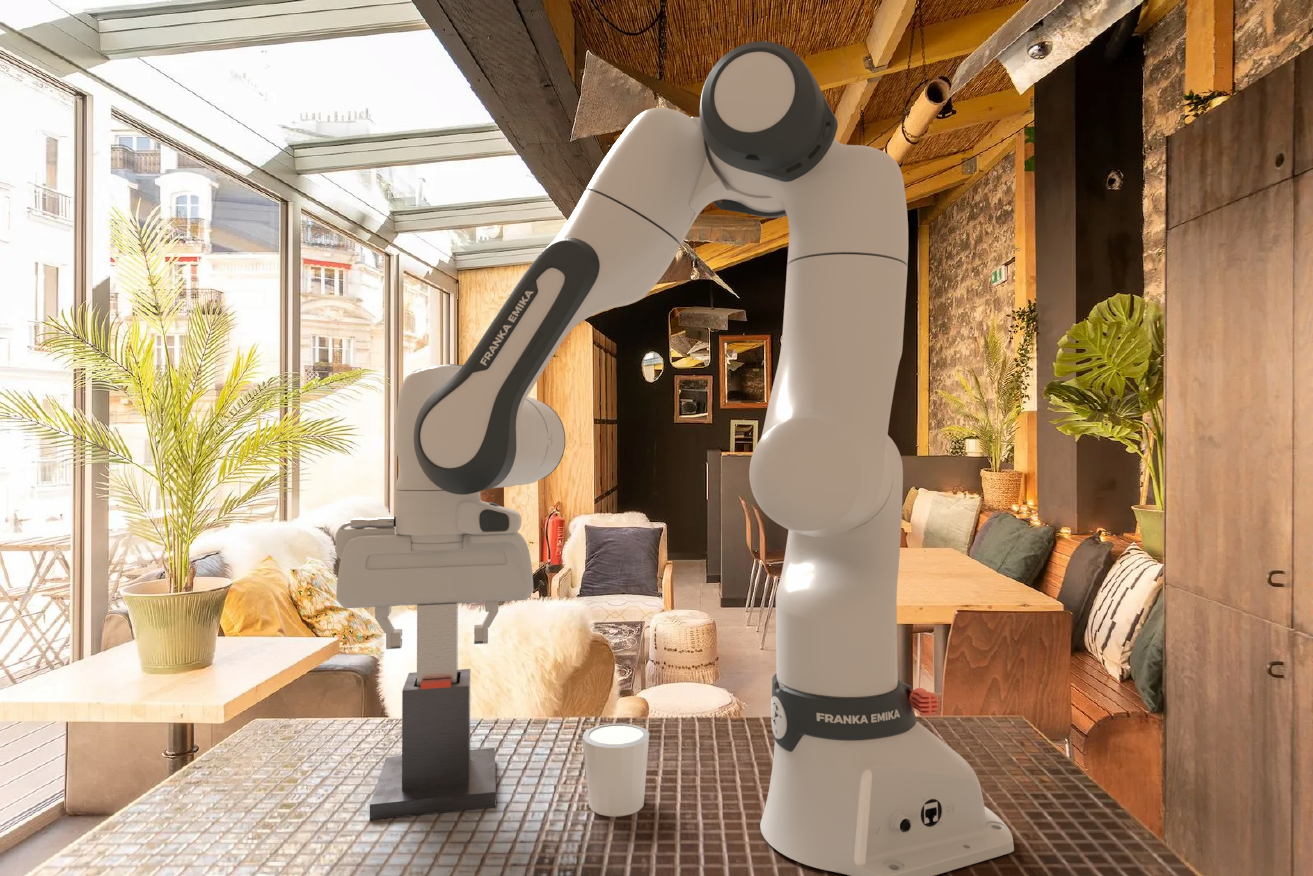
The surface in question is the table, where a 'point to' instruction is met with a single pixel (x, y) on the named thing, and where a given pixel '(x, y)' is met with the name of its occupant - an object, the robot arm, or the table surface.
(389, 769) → the sleeve stand
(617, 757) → the white tapered cup
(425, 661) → the steel post
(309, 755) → the table surface
